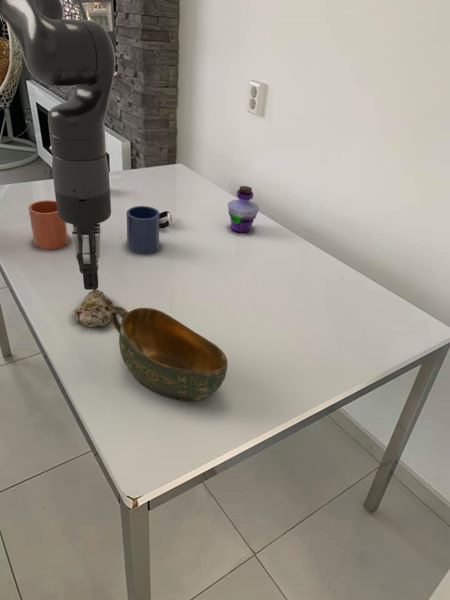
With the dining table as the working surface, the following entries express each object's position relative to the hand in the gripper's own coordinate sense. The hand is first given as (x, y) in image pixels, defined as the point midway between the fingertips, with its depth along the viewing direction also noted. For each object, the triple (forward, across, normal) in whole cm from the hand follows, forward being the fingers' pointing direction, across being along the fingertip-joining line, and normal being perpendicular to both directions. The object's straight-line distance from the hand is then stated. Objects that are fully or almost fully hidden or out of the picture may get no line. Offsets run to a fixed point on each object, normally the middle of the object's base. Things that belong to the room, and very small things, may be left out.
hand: (91, 287), depth 73 cm
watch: (+12, -48, +18) cm, 53 cm away
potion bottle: (+13, -45, +38) cm, 60 cm away
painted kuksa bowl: (+13, +9, +11) cm, 19 cm away
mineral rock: (+12, -10, 0) cm, 16 cm away
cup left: (+12, -40, -11) cm, 43 cm away
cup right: (+12, -36, +11) cm, 40 cm away
